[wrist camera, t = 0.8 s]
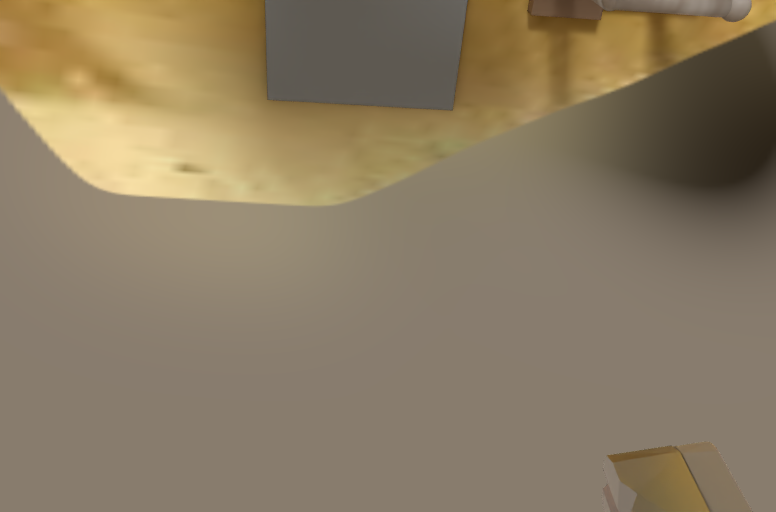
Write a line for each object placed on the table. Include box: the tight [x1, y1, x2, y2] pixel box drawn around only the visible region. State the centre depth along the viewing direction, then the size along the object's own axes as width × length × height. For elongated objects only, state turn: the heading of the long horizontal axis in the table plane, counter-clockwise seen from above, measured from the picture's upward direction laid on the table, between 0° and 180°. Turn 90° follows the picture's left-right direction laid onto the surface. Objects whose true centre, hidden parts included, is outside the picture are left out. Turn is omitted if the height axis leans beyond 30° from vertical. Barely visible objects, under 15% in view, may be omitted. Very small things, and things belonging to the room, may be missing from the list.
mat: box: [265, 0, 468, 110], centre depth 47 cm, size 10×14×1 cm
